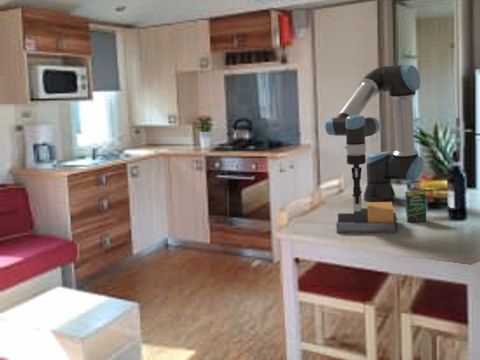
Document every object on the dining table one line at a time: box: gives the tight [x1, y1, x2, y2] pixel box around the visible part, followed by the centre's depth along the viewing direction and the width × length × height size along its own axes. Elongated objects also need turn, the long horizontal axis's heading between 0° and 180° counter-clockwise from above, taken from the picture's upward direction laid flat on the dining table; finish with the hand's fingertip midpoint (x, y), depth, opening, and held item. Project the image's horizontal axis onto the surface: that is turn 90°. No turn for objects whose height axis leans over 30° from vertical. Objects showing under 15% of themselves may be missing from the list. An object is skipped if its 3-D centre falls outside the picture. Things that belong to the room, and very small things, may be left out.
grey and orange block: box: [352, 186, 394, 223], centre depth 231 cm, size 16×12×16 cm
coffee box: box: [405, 189, 427, 223], centre depth 236 cm, size 8×3×13 cm, turn 80°
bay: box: [335, 212, 399, 234], centre depth 233 cm, size 24×16×4 cm, turn 78°
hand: (357, 209), depth 233 cm, fingers closed on grey and orange block, 3 cm apart
